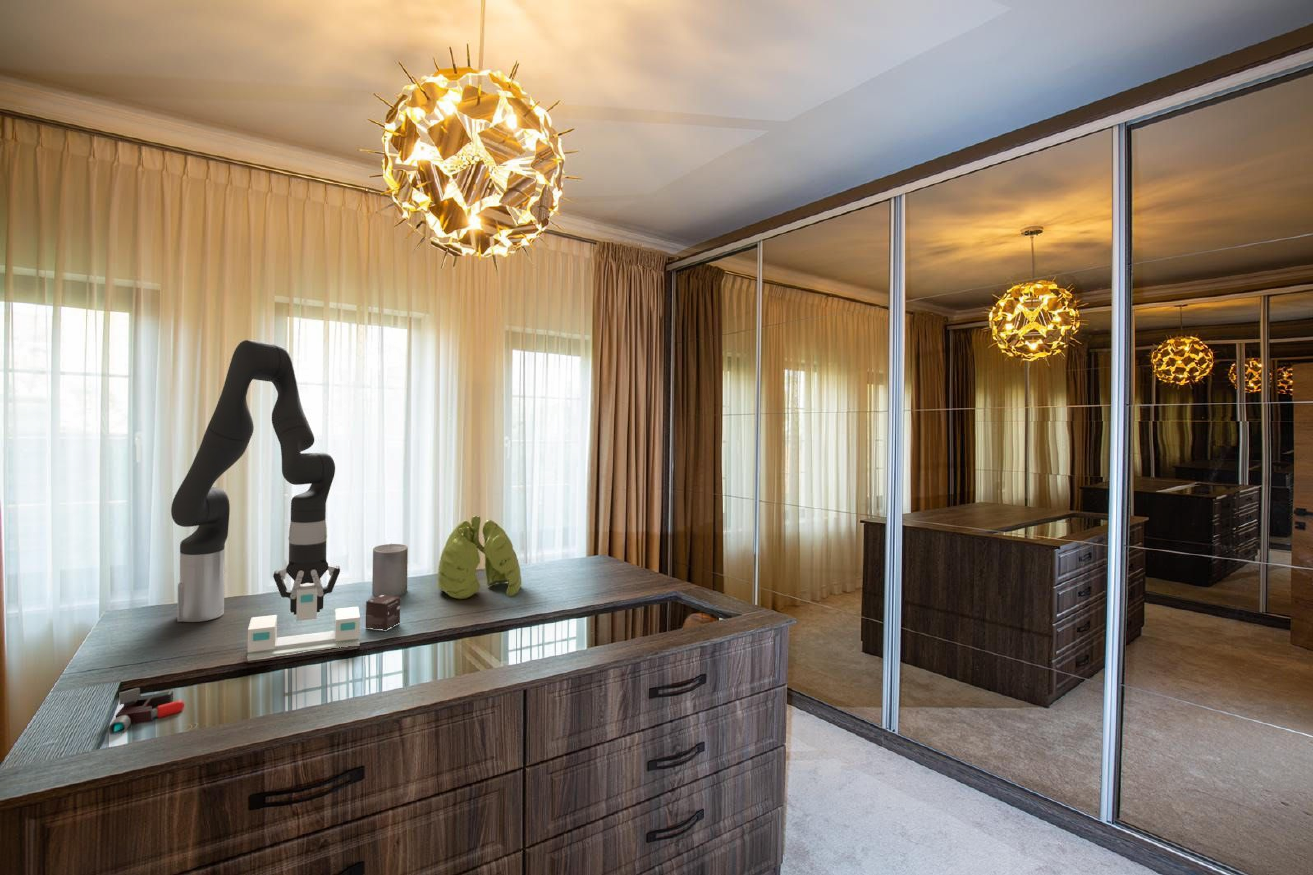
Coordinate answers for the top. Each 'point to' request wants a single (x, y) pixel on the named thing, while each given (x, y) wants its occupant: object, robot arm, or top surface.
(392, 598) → the box
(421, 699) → the top surface
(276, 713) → the top surface
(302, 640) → the board
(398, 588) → the pillar candle
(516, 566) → the lungs
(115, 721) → the toy gun
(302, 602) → the block
